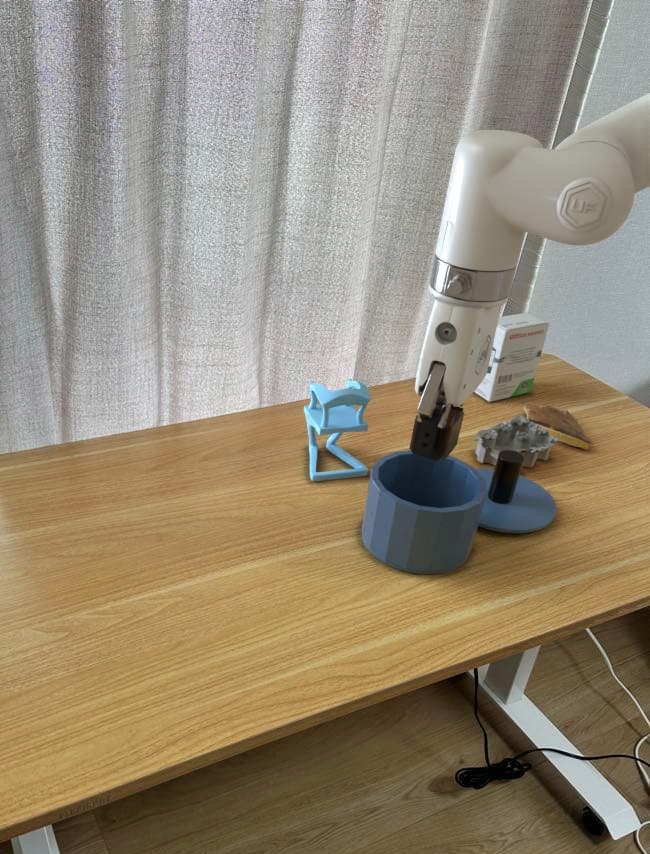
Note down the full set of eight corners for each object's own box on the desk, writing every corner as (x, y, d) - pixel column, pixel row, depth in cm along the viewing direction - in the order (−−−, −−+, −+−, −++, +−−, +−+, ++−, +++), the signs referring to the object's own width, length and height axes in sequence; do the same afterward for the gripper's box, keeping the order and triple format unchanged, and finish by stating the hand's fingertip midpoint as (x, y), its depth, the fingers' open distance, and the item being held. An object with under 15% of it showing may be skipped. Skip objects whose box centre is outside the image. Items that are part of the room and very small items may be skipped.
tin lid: (565, 496, 103) (581, 448, 99) (538, 551, 94) (555, 500, 89) (462, 464, 109) (473, 417, 104) (426, 513, 99) (437, 463, 95)
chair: (345, 444, 112) (356, 363, 104) (368, 476, 105) (381, 392, 98) (292, 449, 110) (300, 367, 103) (312, 482, 103) (321, 397, 96)
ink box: (510, 380, 130) (529, 310, 123) (531, 393, 127) (552, 321, 120) (468, 389, 127) (485, 317, 120) (488, 403, 124) (507, 329, 117)
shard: (590, 453, 113) (594, 442, 111) (536, 451, 112) (539, 440, 111) (564, 416, 121) (568, 405, 120) (514, 414, 121) (517, 404, 120)
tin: (483, 531, 96) (500, 471, 91) (449, 588, 87) (465, 525, 82) (386, 498, 101) (397, 439, 96) (343, 549, 92) (353, 487, 87)
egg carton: (507, 480, 106) (515, 453, 104) (464, 455, 111) (471, 429, 108) (558, 457, 111) (566, 431, 109) (514, 434, 116) (521, 409, 113)
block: (456, 445, 88) (464, 412, 85) (444, 460, 85) (452, 427, 82) (422, 434, 89) (428, 401, 87) (408, 449, 86) (415, 416, 84)
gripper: (483, 314, 68) (440, 493, 79) (533, 264, 80) (490, 426, 91) (401, 294, 71) (370, 469, 82) (461, 248, 83) (427, 407, 94)
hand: (433, 445), depth 87 cm, fingers closed on block, 4 cm apart
